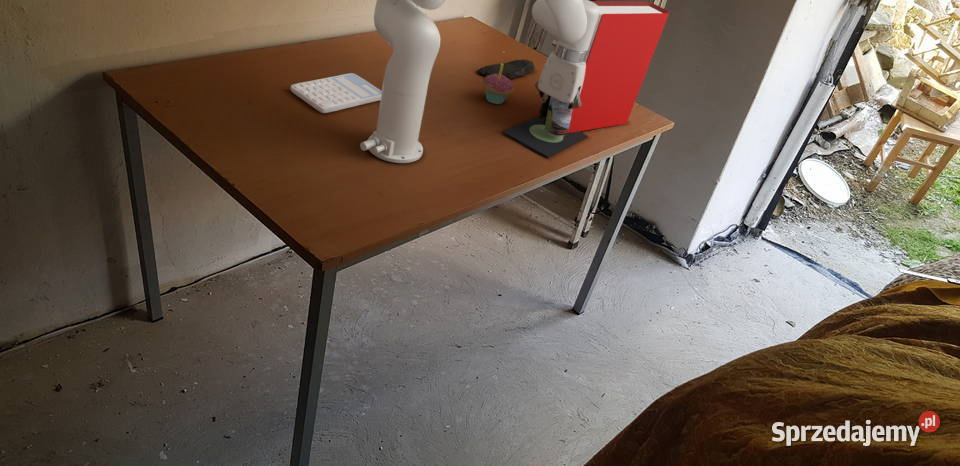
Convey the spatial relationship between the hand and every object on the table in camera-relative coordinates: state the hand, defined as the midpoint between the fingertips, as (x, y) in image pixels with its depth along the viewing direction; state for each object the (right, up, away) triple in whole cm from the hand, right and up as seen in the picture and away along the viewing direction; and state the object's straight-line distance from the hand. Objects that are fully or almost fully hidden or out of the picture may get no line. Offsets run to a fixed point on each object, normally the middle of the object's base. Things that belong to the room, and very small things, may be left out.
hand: (550, 119), depth 179 cm
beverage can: (+1, -3, +1) cm, 4 cm away
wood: (-9, +19, +32) cm, 38 cm away
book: (+12, +2, +15) cm, 19 cm away
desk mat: (-1, -4, +3) cm, 5 cm away
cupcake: (-14, +7, +14) cm, 21 cm away
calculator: (-53, +5, -4) cm, 54 cm away
